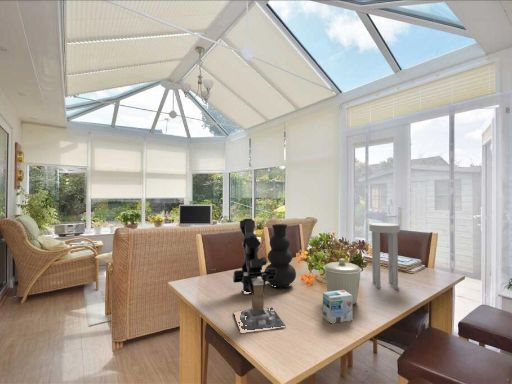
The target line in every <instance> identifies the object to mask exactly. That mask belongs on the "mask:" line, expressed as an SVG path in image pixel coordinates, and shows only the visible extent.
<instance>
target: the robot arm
mask: <svg viewBox="0 0 512 384" xmlns="http://www.w3.org/2000/svg"><path fill="white" fill-rule="evenodd" d="M239 221H240V222H239V230H240V234H241V235H242V237H243V239H242V241H241V242H242V248H243V253H244V255H243V257H244V259H243V261H244V263H243V265H242V267H241V270H234V272H233V275H232V280H233V281H232V282H233V283H242V290H244V291H246V292H251V293H252V294H251V296H252V295H254V291H253V287H252V279H254V278H262V280H263V281H264V285H263V295H264V294H265V287H266V282H268V281H267V280H272V279H275V277H276V274H277V270H276V269H275V268H267V270H266V272H264V271H262V270H263V268H264V266H267V257H266V256H262V257H260V258H259V255H258V253H259V248H260V246H261V241H260V240H259V239H258V236H257V234H255V233H254V231H255V230H254V229H256V222H255V220H253V219H252V218H244V219H242V220H239Z"/></svg>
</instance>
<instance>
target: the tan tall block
mask: <svg viewBox="0 0 512 384" xmlns="http://www.w3.org/2000/svg"><path fill="white" fill-rule="evenodd" d="M263 285H264V281H263V280H262V278H261V277H257V278H254V279H252V287H253V291H254V295H252V294H251V308H253V310H254V311H258V310H264V305H265V304H264V294H263Z"/></svg>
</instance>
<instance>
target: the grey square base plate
mask: <svg viewBox="0 0 512 384" xmlns="http://www.w3.org/2000/svg"><path fill="white" fill-rule="evenodd" d="M273 309H274V308H273V307H272V306H271V308H270V311H269V307H264V310H258V311H254V310H253V308H252V307H250V308H246V309H244V311H242V310H241V311H242V312H241V315H240V320H241V322H242V323H243V326H241V328H242V329H244V330H245V329H247V330H255V329H263V328H271V327H272V328H273V327H281V326H285V327H286V324H285V323H284V321H283V320H282V319H281V317H280V316H279V315H278V313H277V312H276V310H275V309H274V311H271V310H273ZM245 316H247V317H246V320H245ZM238 323H239V324H240V322H238ZM245 325H247V326H245ZM239 326H240V325H239Z"/></svg>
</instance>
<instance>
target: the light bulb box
mask: <svg viewBox="0 0 512 384" xmlns="http://www.w3.org/2000/svg"><path fill="white" fill-rule="evenodd" d="M322 318H323V319H325V320H326V319H327V320H328V321H329V322H330V323H332V324H335V323H334V322H340V323H343V322H342V321H347V322H351V321H350V320H352V321H353V305H352V295H351V294H349V293H348V292H346V291H345V290H339V291H330V292H327V291H323V292H322ZM327 320H326V321H327ZM328 321H327V322H328ZM329 322H328V323H329ZM330 323H329V324H330Z"/></svg>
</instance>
